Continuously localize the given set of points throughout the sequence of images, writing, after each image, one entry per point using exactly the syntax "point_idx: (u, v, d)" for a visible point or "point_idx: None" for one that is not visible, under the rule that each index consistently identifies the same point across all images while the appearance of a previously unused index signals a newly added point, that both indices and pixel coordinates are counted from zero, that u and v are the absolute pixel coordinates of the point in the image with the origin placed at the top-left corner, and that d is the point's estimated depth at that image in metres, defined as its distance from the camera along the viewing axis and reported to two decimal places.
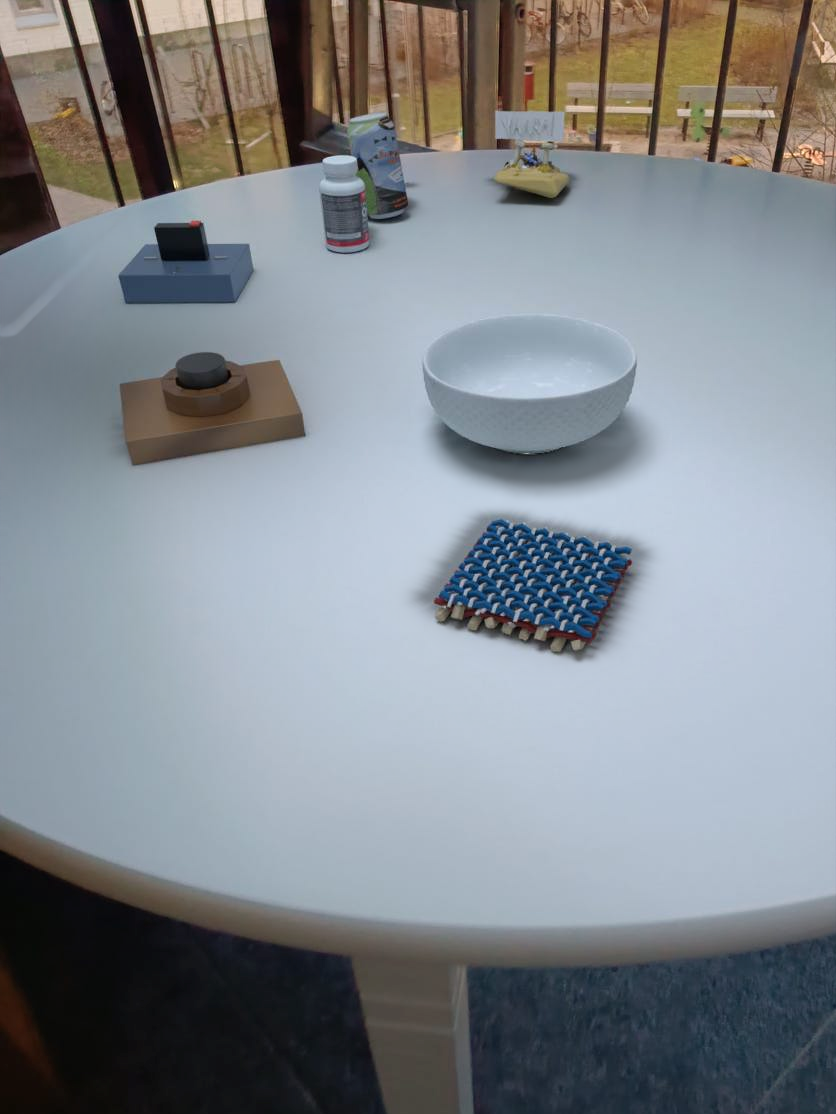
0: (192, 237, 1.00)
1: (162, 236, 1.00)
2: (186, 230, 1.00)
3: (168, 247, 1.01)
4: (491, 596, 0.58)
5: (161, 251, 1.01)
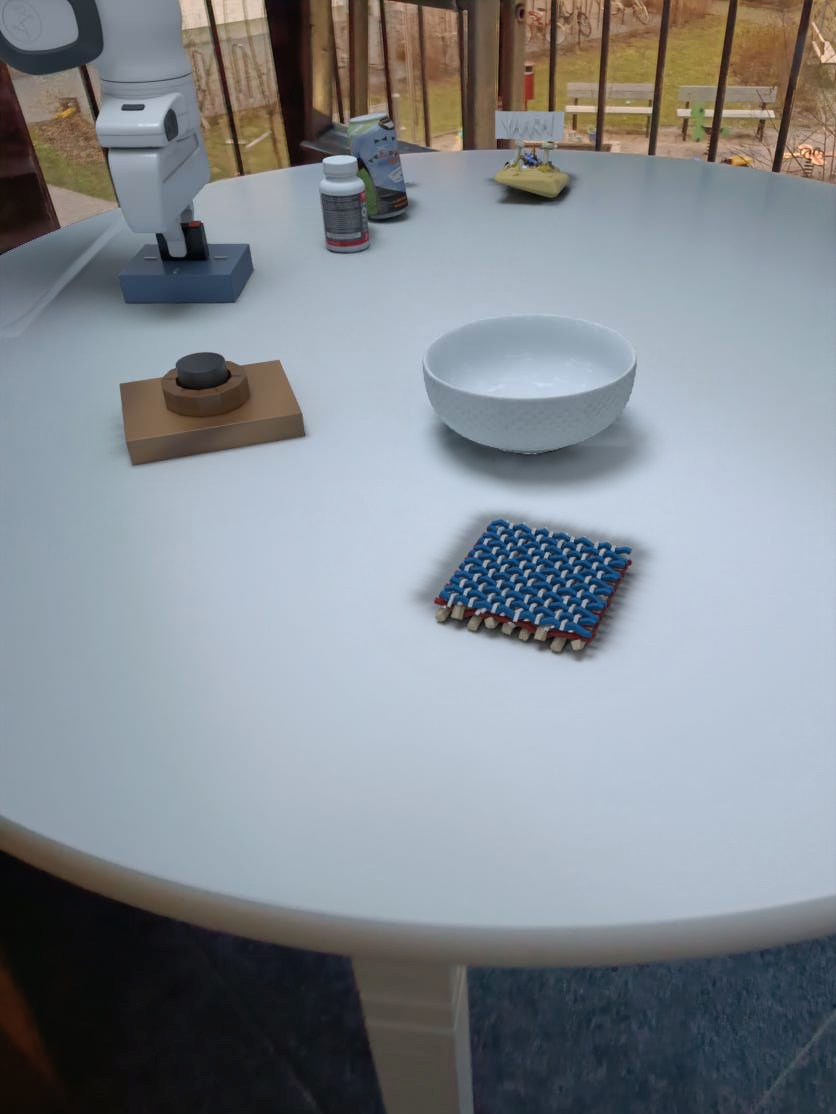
0: (192, 237, 1.00)
1: (162, 236, 1.00)
2: (186, 230, 1.00)
3: None
4: (491, 596, 0.58)
5: (161, 251, 1.01)
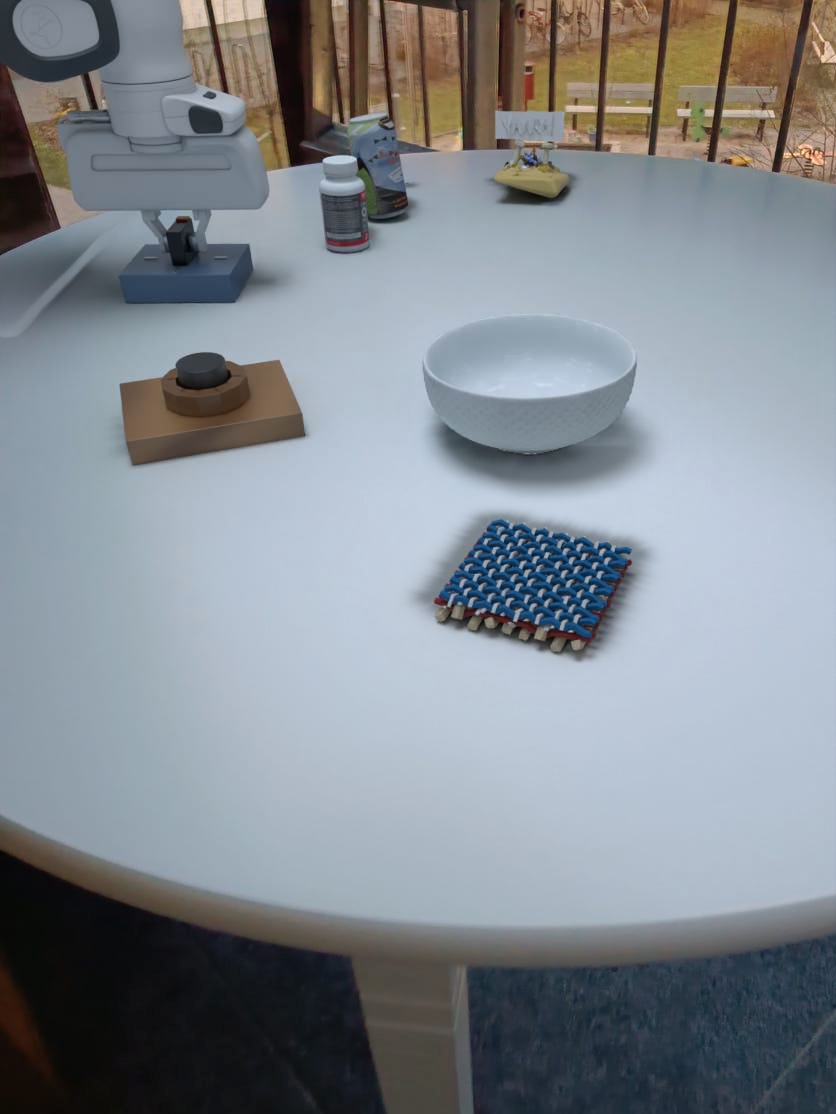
0: (191, 230, 1.02)
1: (183, 239, 0.99)
2: (189, 225, 1.01)
3: (187, 249, 1.00)
4: (491, 596, 0.58)
5: (185, 255, 1.00)
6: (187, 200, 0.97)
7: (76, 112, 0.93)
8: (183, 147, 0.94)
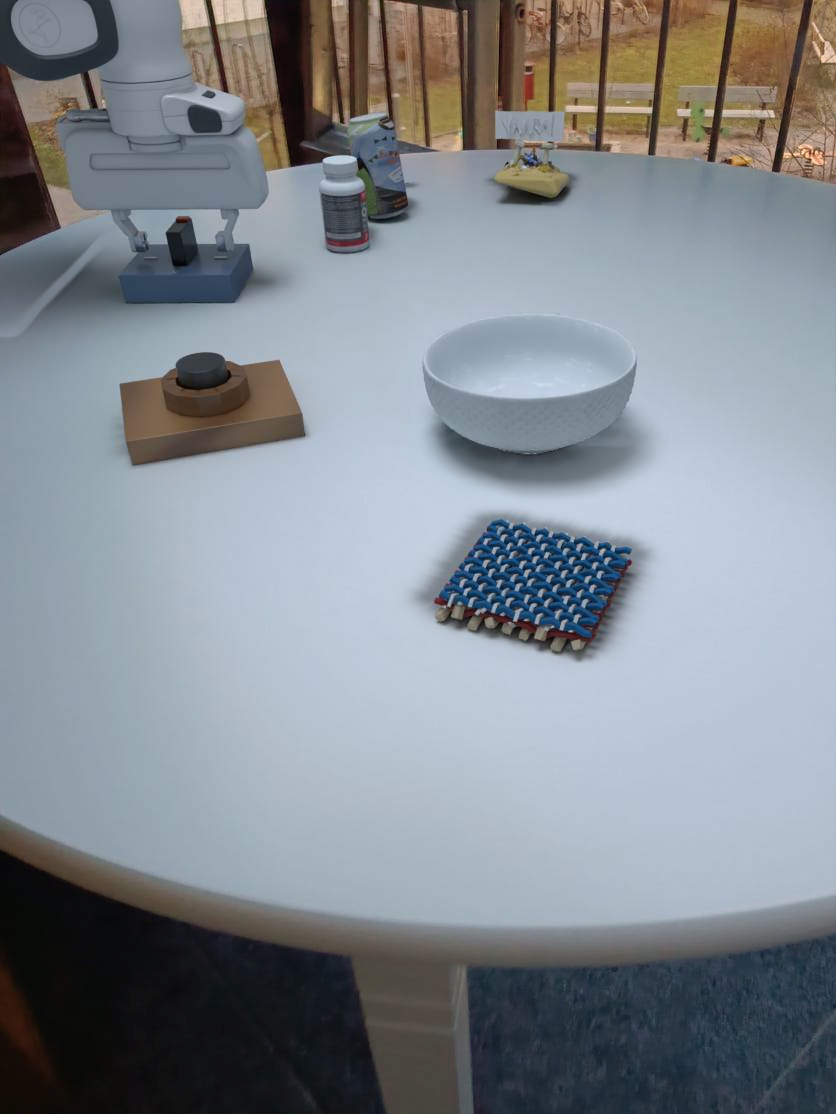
0: (191, 230, 1.02)
1: (183, 239, 0.99)
2: (189, 225, 1.01)
3: (187, 249, 1.00)
4: (491, 596, 0.58)
5: (185, 255, 1.00)
6: (186, 199, 0.97)
7: (75, 111, 0.93)
8: (182, 146, 0.94)
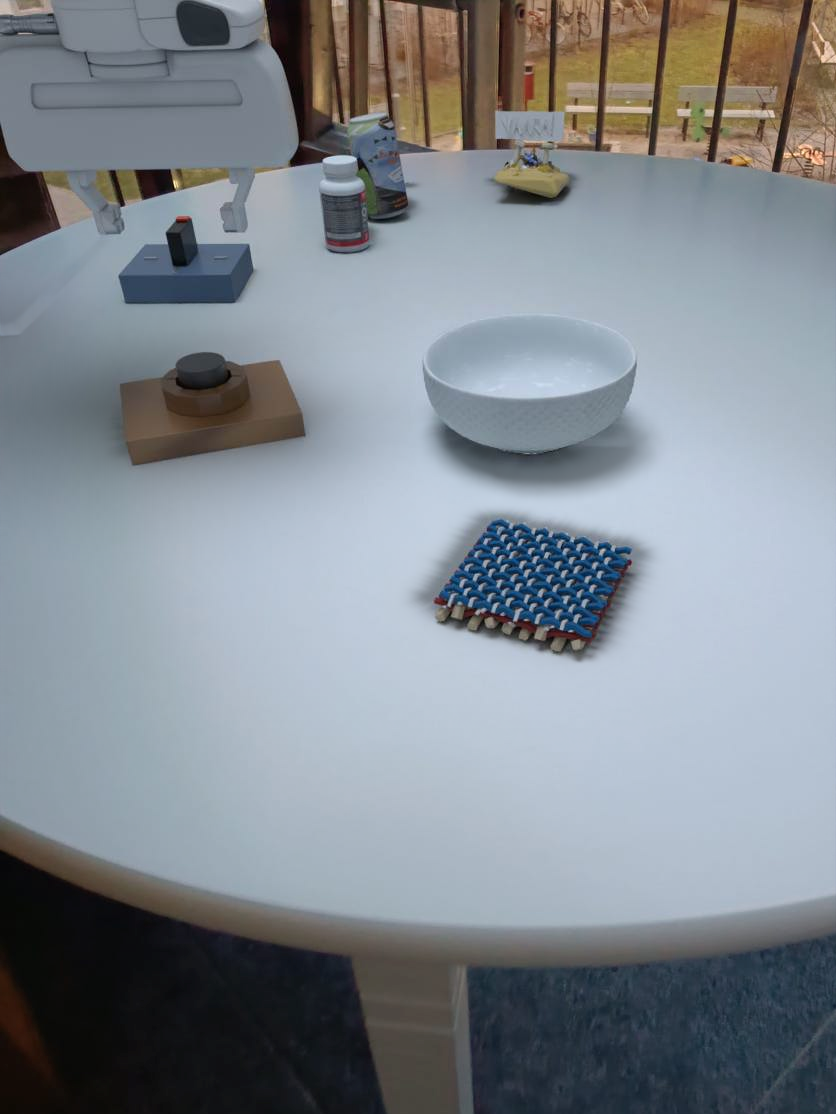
0: (191, 230, 1.02)
1: (183, 239, 0.99)
2: (189, 225, 1.01)
3: (187, 249, 1.00)
4: (491, 596, 0.58)
5: (185, 255, 1.00)
6: (177, 153, 0.65)
7: (6, 17, 0.61)
8: (169, 70, 0.62)
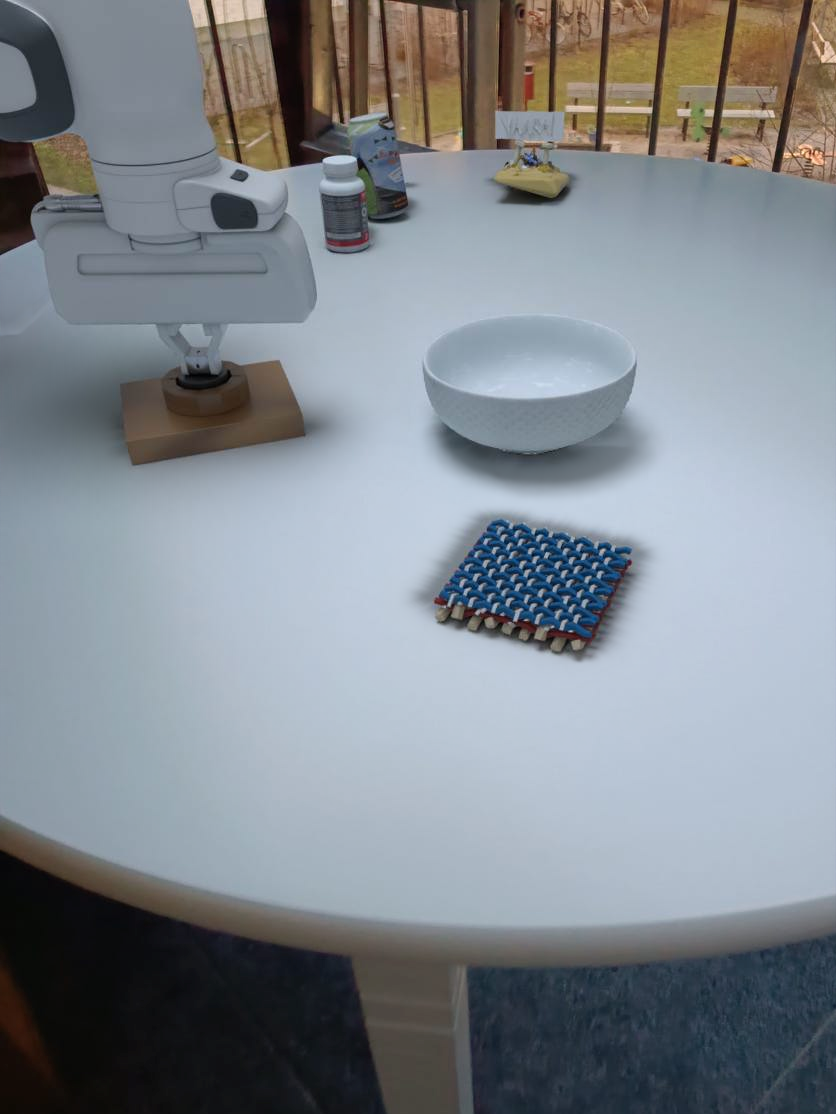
0: None
1: None
2: None
3: None
4: (491, 596, 0.58)
5: None
6: (207, 312, 0.72)
7: (56, 198, 0.68)
8: (202, 244, 0.69)
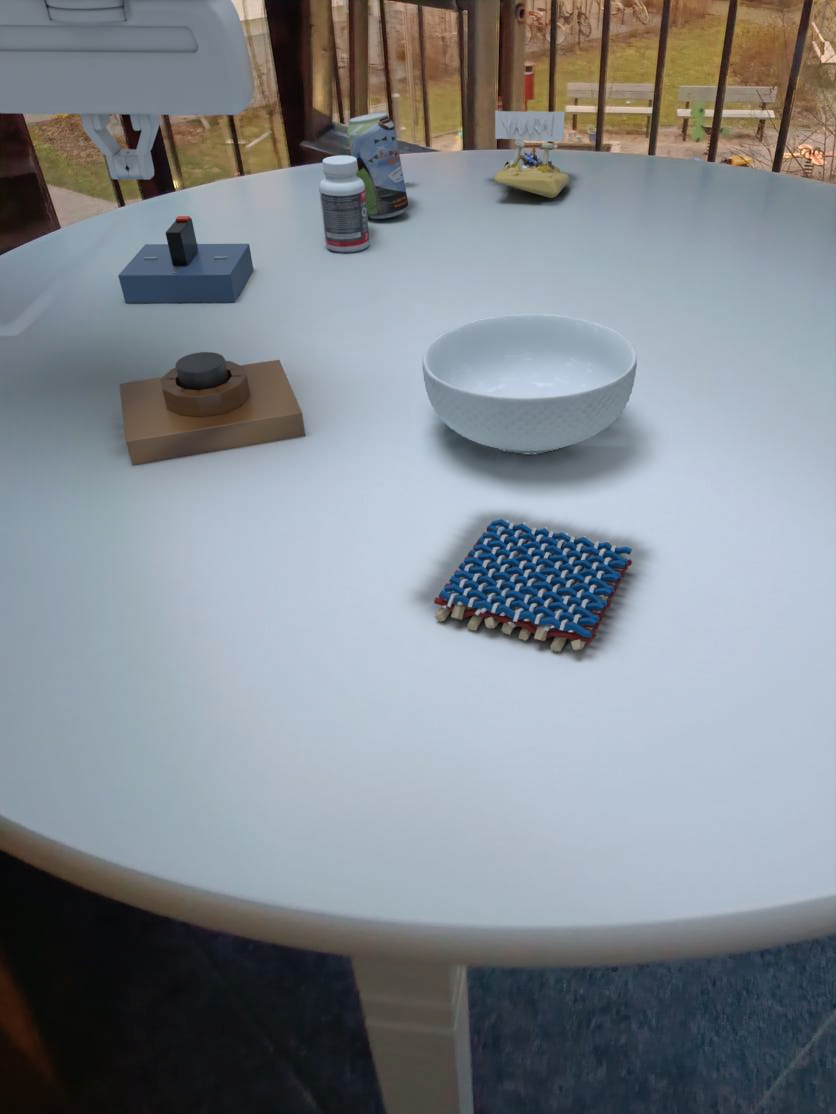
0: (191, 230, 1.02)
1: (183, 239, 0.99)
2: (189, 225, 1.01)
3: (187, 249, 1.00)
4: (491, 596, 0.58)
5: (185, 255, 1.00)
6: (134, 99, 0.67)
7: None
8: (126, 15, 0.63)
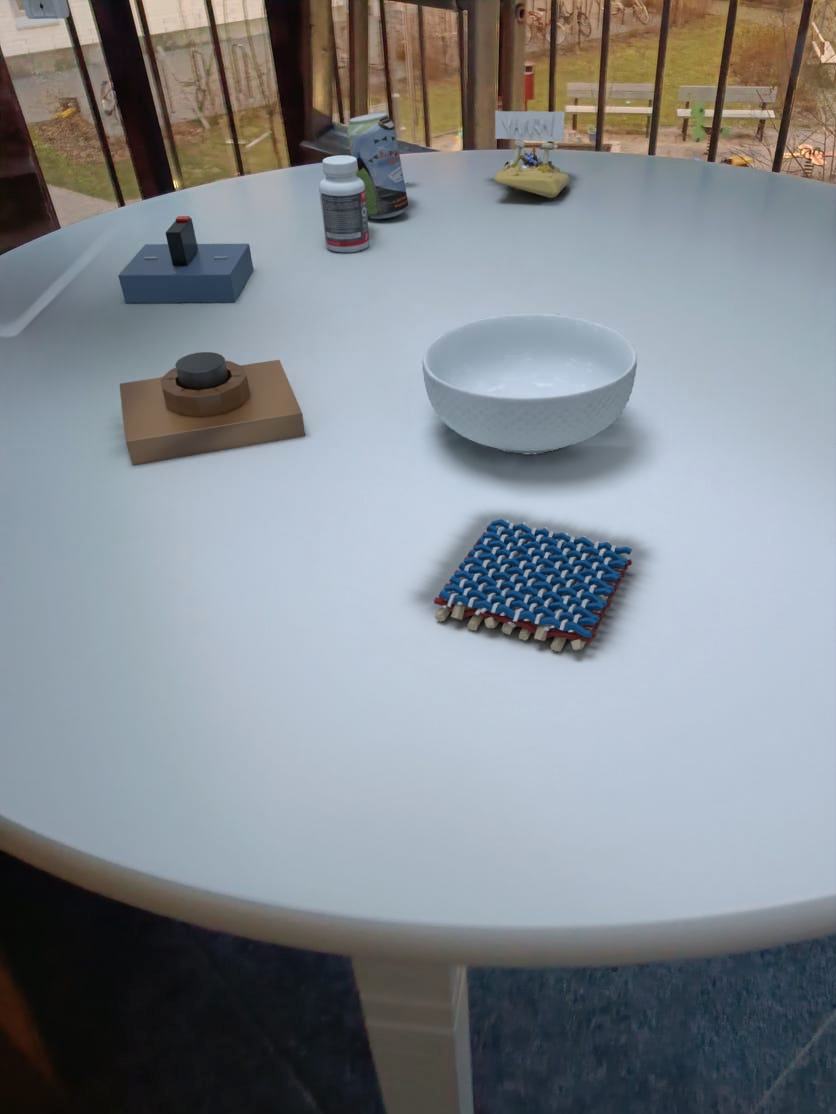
0: (191, 230, 1.02)
1: (183, 239, 0.99)
2: (189, 225, 1.01)
3: (187, 249, 1.00)
4: (491, 596, 0.58)
5: (185, 255, 1.00)
6: None
7: None
8: None
